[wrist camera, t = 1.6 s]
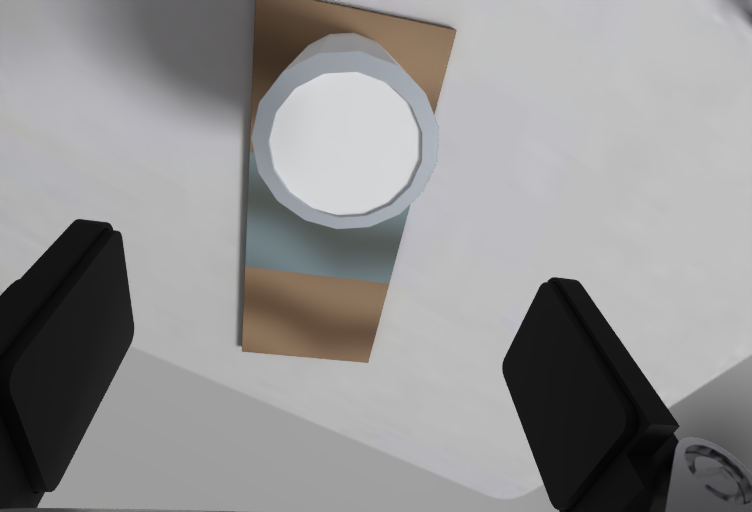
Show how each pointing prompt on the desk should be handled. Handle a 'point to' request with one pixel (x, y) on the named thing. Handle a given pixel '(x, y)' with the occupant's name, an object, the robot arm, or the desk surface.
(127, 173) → the desk surface
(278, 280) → the game board
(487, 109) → the desk surface
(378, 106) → the white cup
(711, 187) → the desk surface
